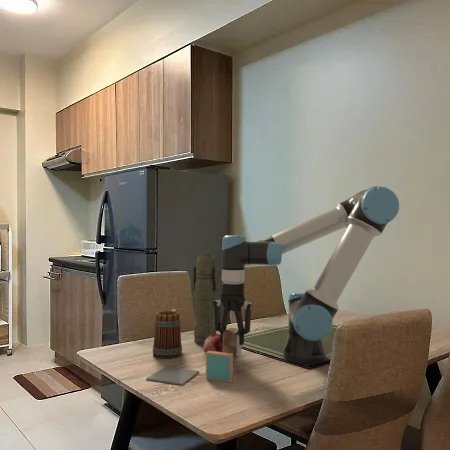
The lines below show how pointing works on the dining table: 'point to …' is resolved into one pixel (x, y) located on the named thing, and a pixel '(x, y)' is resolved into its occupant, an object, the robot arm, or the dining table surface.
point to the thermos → (205, 296)
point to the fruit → (213, 343)
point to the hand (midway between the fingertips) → (232, 353)
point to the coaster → (173, 375)
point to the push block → (230, 341)
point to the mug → (167, 335)
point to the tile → (219, 366)
